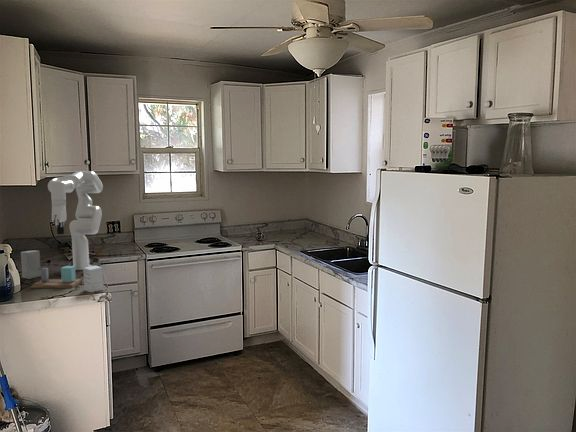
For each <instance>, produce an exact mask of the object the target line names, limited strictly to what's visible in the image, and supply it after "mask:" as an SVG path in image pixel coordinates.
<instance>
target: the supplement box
mask: <svg viewBox="0 0 576 432" xmlns="http://www.w3.org/2000/svg"><path fill="white" fill-rule="evenodd" d="M82 271H83V283H84V285H83V286H84V289H83V290H84V291H85V292H87V293H88V292H89V293H90V294H91V293H96V292H99V291H103V290H104V275H103V272H104V271H103V267H102V266H98V265H92V266H90V267H85V268H83V270H82ZM95 291H96V292H95Z"/></svg>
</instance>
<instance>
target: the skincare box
mask: <svg viewBox="0 0 576 432" xmlns="http://www.w3.org/2000/svg"><path fill="white" fill-rule="evenodd" d="M20 261H21V275H22V276H21V277H22V279H28V280H31V279H34V278H39V277H41V269H42V267H41V255H40V250H35V249H34V250H26V251H21V252H20Z"/></svg>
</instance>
